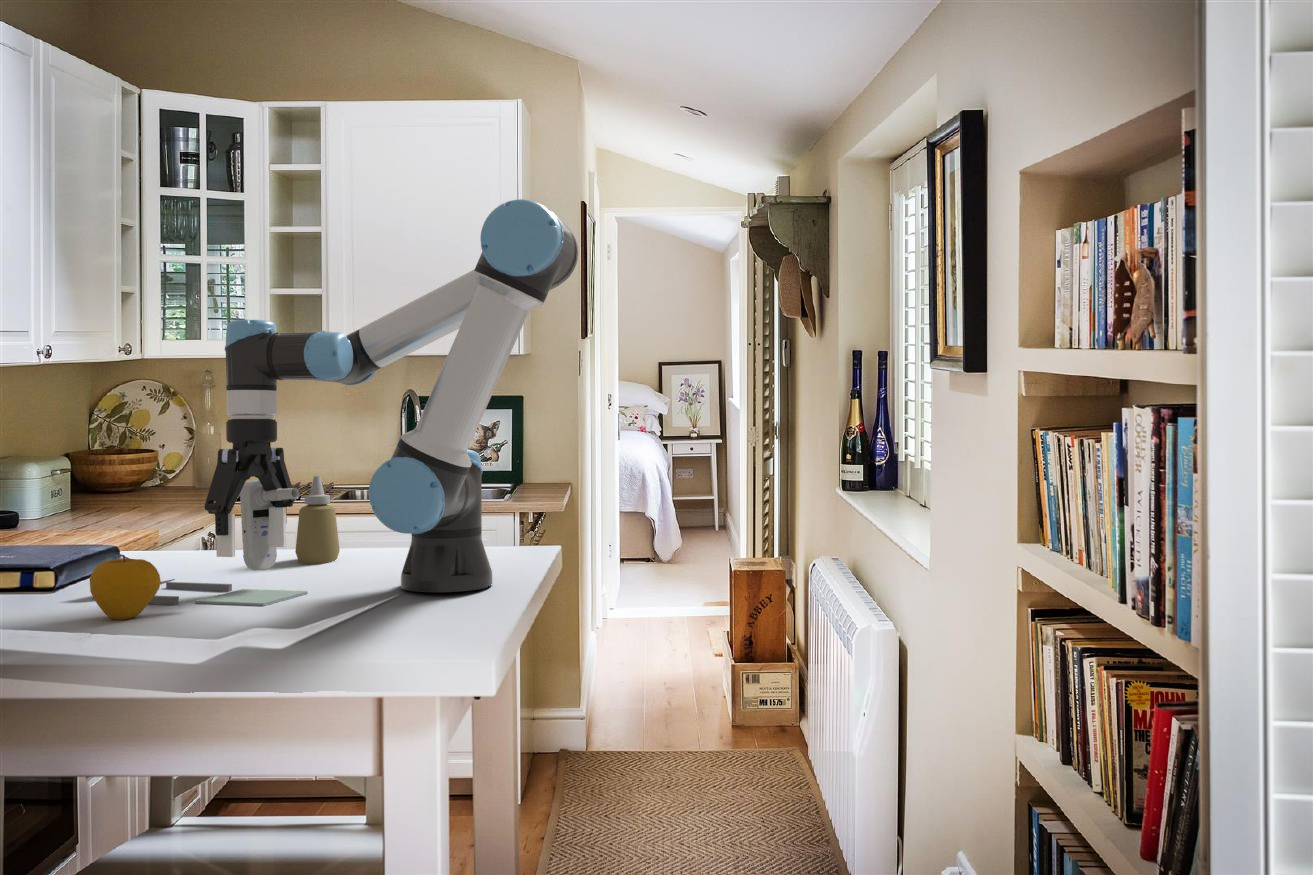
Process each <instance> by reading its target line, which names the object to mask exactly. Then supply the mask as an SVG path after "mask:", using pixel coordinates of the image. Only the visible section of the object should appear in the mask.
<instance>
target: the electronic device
mask: <svg viewBox="0 0 1313 875" xmlns="http://www.w3.org/2000/svg"><path fill="white" fill-rule="evenodd" d="M299 496H300V492H299V489H298V488H297V487H292V488H287V489H282V488H278V489H276V490H270V491H265V490H264V488H263V487H262V485H261V483H260V481H259V479H250V480H249V481H248V480H247V481H246V482H245V484H244V486H243V488H242V490H241V492H240V494H239V498H240V514H241V515H240V518H241V537H242V550H243V551H242V552H243V554H242V556H243V561H244V564H245V565H246V567H247V568H248V569H249V570H251V571H255V572H256V571H267V570H271V568H272V567H273V566H274V565H275V563H276V560H277V557H278V549H277V548H278V547H269V508H270V507H274V506H273V505H272V503H271V502H270V501H281V500H285V499H295V500H296V499H298V498H299Z"/></svg>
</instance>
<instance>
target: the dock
mask: <svg viewBox="0 0 1313 875" xmlns="http://www.w3.org/2000/svg"><path fill="white" fill-rule="evenodd" d="M175 580H176V579H175V578H172V579H167V580H162V581H161V583H160V585H164V584H165V588H166V589H167V590H169V589H170V590H189V591H190V590H191V591H208V592H225V593H229V592H233V583H214V582H211V583H210V582H185V581H183V582H182V581H175ZM92 599H93V600H95V599H94V598H93V597H92ZM179 600H180V599H179V596H177V595H157V594H156V595H155V596H154V597H153V598H152V600H151V601H150V602H149V603H148V605H165V606H167V605H169V606H177V605H179V604H180V603H179V602H180V601H179Z"/></svg>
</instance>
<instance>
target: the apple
mask: <svg viewBox="0 0 1313 875" xmlns="http://www.w3.org/2000/svg"><path fill="white" fill-rule="evenodd" d="M90 574H91V575H90V577H89V592H90V594H91V595H92V599H93V598H94V599H93V600H94V602H95V603H96V605H97V607H99V608H100V609H101V611H102V612H103V614H105V615H106V616H107V617H108V618H109V619H112V620H119V621H120V620H123V621H124V620H130V619H133V618H135V617H137V616H138V615H140V614H141V613H142V612H143V611H144V610H145V609H146V608H147V606H148V605H149V604H148V603H149V602H150V601H151V600H152V598H153V597H154V596H155V595H156V596H157V593H158V591H159V589H160V586H161V584H160V583H161V582H162V581H161V575H160V573H159V571H158V568H156V567H155V565H154V564H153V563H152V562H150V561H148V560H146V559H142V558H141V559H140V558H139V559H138V558H137V559H136V558H126V556H125V555H122V558H116V559H115V558H114V559H109V560H103V561H102V562H101V563H99V564H98V565H97V566H96V567H95V568H94V569H93V571H92V572H91V573H90Z"/></svg>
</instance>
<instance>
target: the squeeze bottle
mask: <svg viewBox="0 0 1313 875" xmlns="http://www.w3.org/2000/svg"><path fill="white" fill-rule="evenodd" d="M311 483H312V484H311V488H310V492H309V494H308V495H304V498H303V499H304V504H305V505H304V506H302V507H301V508H300V509H299V512H298V519H297V520H298V522H297V530H296V531H297V532H296V541H295V551H294V552H295V555H296V558H297V561H298V563H299V564H303V565H322V563H323V564H329V562H330V563H333V562H336V561H337V560H338V556H339V554H340V551H341V550H340V543H339V542H340V541H339V540H340V539H339V534H338V533H339V532H338V522H337V515H336V513H337V512H336V508H335V507H333V506H332V505H330V504H331V496H330V494H325V491H324V490H325V489H324V487H323V483H322V478H321V476H320V475H316V476H315V475H314V476H313V478H312V482H311ZM336 559H337V560H336ZM335 560H336V561H335ZM332 561H333V562H332Z"/></svg>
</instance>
